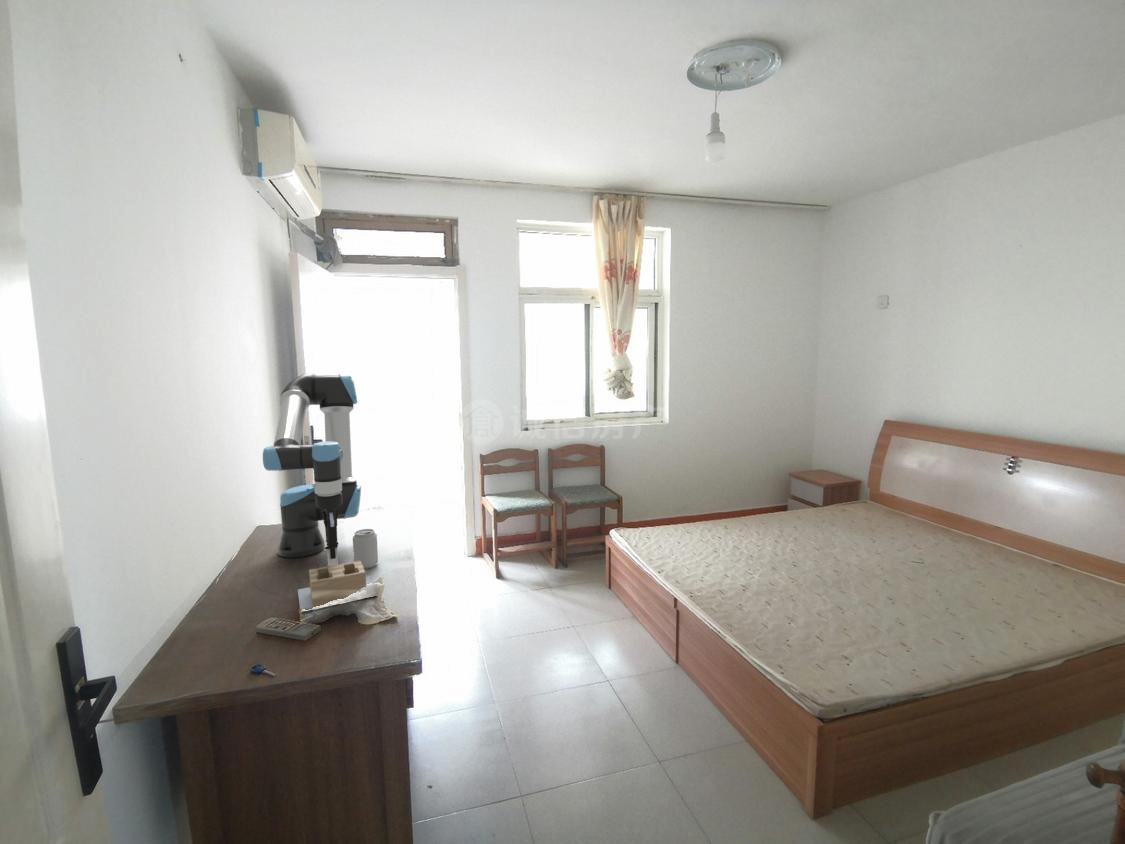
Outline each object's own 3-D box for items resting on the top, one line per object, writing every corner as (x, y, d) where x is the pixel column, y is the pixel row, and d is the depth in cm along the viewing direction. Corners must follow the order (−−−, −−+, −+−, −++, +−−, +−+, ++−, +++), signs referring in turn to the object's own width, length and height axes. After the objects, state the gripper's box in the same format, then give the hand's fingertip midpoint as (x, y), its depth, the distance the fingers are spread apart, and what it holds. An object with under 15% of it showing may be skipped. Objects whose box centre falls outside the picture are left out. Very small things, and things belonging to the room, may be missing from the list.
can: (370, 571, 170) (368, 535, 168) (349, 569, 171) (347, 534, 170) (382, 562, 177) (380, 528, 175) (362, 560, 178) (360, 527, 177)
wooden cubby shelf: (310, 592, 151) (309, 569, 150) (361, 582, 158) (360, 560, 157) (312, 606, 142) (311, 582, 141) (366, 595, 149) (365, 572, 148)
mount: (297, 593, 153) (297, 579, 153) (369, 579, 163) (368, 566, 163) (300, 613, 141) (299, 598, 141) (377, 596, 151) (376, 582, 150)
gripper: (313, 489, 160) (318, 562, 164) (316, 500, 149) (321, 578, 152) (339, 486, 164) (343, 557, 167) (344, 496, 153) (349, 572, 156)
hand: (333, 567), depth 160 cm, fingers closed
